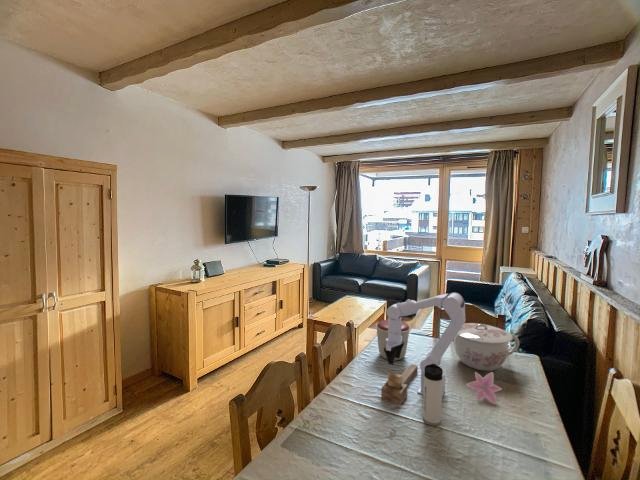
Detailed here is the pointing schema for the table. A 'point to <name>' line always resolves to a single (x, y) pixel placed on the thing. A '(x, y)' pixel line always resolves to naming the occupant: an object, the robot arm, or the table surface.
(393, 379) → the tan square peg
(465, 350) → the chamber pot
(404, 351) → the canister
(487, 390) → the lily
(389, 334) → the robot arm
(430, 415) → the travel mug
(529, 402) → the table surface
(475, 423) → the table surface
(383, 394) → the post
